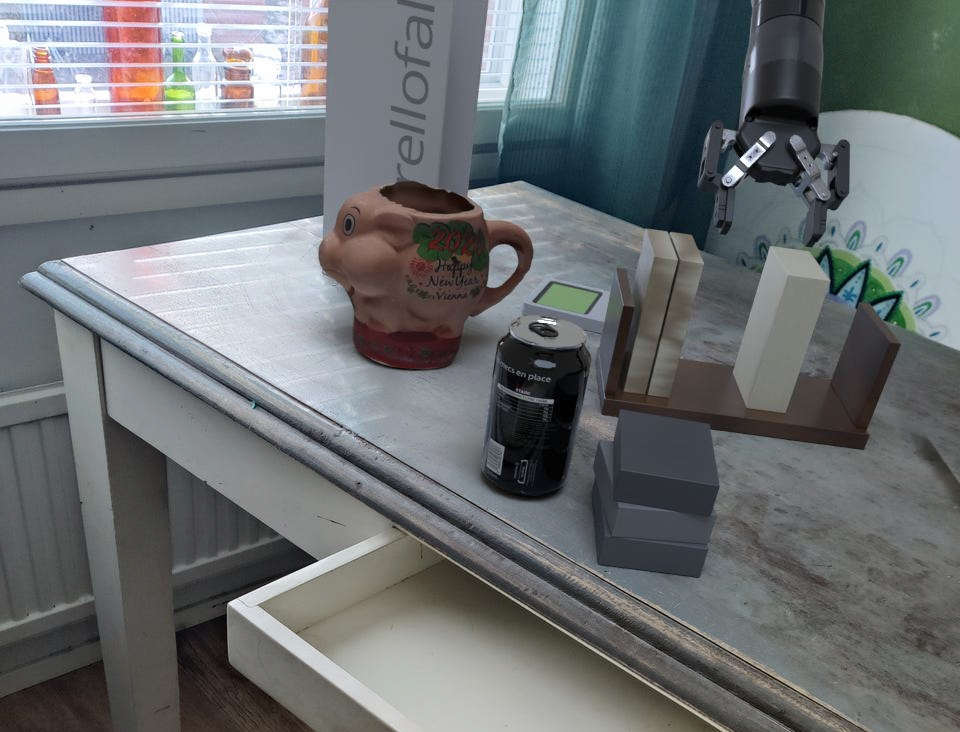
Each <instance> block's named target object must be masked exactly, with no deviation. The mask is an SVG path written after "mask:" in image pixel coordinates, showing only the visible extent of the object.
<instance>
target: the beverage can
mask: <svg viewBox="0 0 960 732" xmlns="http://www.w3.org/2000/svg"><path fill="white" fill-rule="evenodd" d="M587 338H588V335H587V332H586V330H584V329H582V328H580V327H579V326H577V325H576V324H573V323H571V322H569V321H566V320H563V319H559V318H555V317H549V316H540V315H529V316H526V315H521V316H518V317H515V318H513V319H511V320H510V321H509V323H508V332H507V333H506V334H504V335H503V336H502V337H501V338H500V339H499V340H498V342H497V345H496V350H495V355H494V363H493V369H492V377H491V384H490V391H489V398H488V404H487V405H488V406H487V413H486V419H485V420H486V421H485V427H484V435H483V442H482V450H481V457H480V468H481V471H482V473H483V474H484V476H485V477H486V478H487V479H488V480H489V481H490V482H492V484H494V485H495V486H496V487H498V488H499V489H501V490H502V491H504V492H507V493H509V494H512V495H514V496H515V495H516V496H520V497H538V496H543V495H545V494H548V493H551V492H554V491H556V490H558V489H559V488H561V487H562V486H563V485H565V483H566V482H567V480H568V476H569V472H570V469H571V468H570V467H571V463H572V459H573V455H574V449H575V445H576V441H577V440H576V439H577V435H578V430H579V425H580V420H581V414H582V410H583V405H584V400H585V395H586V390H587V386H588V381H589V376H590V371H591V365H592V355H591V353H590V351H589V349H588V348H587V347H586V346H587V345H586V343H587V340H588V339H587Z"/></svg>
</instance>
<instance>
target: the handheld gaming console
mask: <svg viewBox="0 0 960 732" xmlns="http://www.w3.org/2000/svg"><path fill="white" fill-rule="evenodd" d="M610 292H611V290H606V289H602V288H597V287H594V286H589V285H584V284H580V283H575V282H572V281H567V280H562V279H559V278H553V277H544V278H543V279H542V280H541V281H540V282H539V283H538V285H537V286H536V287H535V288H534V289H533V290H532V291H531V292H530V293H529V295H527V296H526V298H525V299H524V300H523V301H522V308H521V314H522V316H529V315H540V316H549V317H555V318H559V319H563V320H566V321H569V322H571V323H573V324H576V325H577V326H579V327H580V328H582V329H583V330H584V331H589V332H593V333H597V334H600V335H602V331H603V326H604V322H605V317H606V312H607V307H608V302H609V297H610Z"/></svg>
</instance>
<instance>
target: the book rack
mask: <svg viewBox="0 0 960 732" xmlns="http://www.w3.org/2000/svg"><path fill="white" fill-rule="evenodd" d="M639 252H640V253H639V257H638V261H637V266H636V271H635V277H634V280H633V285H632V289H631V284H630V280H629V276H628V272H627V269H626V268H620V267H615V269H614V274H613V277H612V284H611V287H610V291H611V292H610V297H609V302H608V307H607V312H606V317H605V322H604V326H603V331H602V334H601V336H600V342H599V345H598V347H597V349H596V355H595V359H594V364H595V372H596V380H597V388H598V395H599V405H600V412H601V415H605V416H612V417H619V413H620V410H627V411H633V412H639V413H645V414H651V415H657V416H664V417H670V418H676V419H682V420H688V421H694V422H700V423H706V424H710V430H716V431H717V430H718V431H724V432H731V433H739V434H747V435H754V436H760V437H767V438H777V439H784V440H792V441H798V442H805V443H813V444H814V443H815V444H821V445H827V446H828V445H829V446H835V447H843V448H849V449H850V448H851V449H858V450H865V447H866V445H867V443H868V440H869V438H870V436H871V434H870V432H869V431H868V428H869V425H870V423H871V421H872V418H873V416H874V413H875V411H876V409H877V405H878V403H879V401H880V398H881V396H882V394H883V392H884V388H885V385H886V383H887V381H888V378H889V376H890V374H891V371H892V369H893V366H894V364H895V361H896V358H897V357H898V353H899V352H900V348H901V346H902V343H901V342H900V340H899V339H898V338H897V337H896V335H895V334H894V332H893V331H892V330H891V329H890V327H889V326H888V325H887V324H886V322H885V321H884V320H883V318H882V317H881V316H880V315H879V313H878V312H877V311H876V309H875V308H874V307H873V306H872V305H871V303H869V302H862V301H859V303H858V305H857V308H856V311H855V314H854V317H853V320H852V321H851V324H850V328H849V330H848V333H847V335H846V339H845V341H844V344H843V347H842V349H841V352H840V355H839V358H838V360H837V363H836V365H835V368H834V370H833V371H834V372H833V374H832V377H831V378H824V377H818V376H810V375H803V374H799V375H798V378H797V381H796V384H795V387H794V390H793V393H792V395H791V398H790V401H789V404H788V407H787V410H786V413H779V412H772V411H765V410H757V409H750V408H747V407H746V405H745V402H744V400H743V397H742V395H741V392H740V390H739V387H738V385H737V382H736V380H735V377H734V375H733V370H734V366H735V365H731V364H724V363H716V362H708V361H700V360H694V359H687V358H681V355H682V350H683V347H684V342H685V340H686V335H687V331H688V327H689V323H690V319H691V316H692V312H693V307H694V305H695V300H696V296H697V292H698V290H699V289H698V288H699V285H700V282H701V276H702V273H703V270H704V266H705V262H704V260H703V257H702V255H701V253H700V251H699V248H698V246H697V244H696V241H695V239H694V237H693V234H688V233H680V232H674V231H670V232H668V231H667V230H658V229H652V228H645V229H644V234H643V238H642V243H641V247H640V251H639Z"/></svg>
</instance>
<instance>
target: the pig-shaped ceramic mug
mask: <svg viewBox="0 0 960 732" xmlns="http://www.w3.org/2000/svg"><path fill="white" fill-rule="evenodd" d="M503 245H506V246H509V247H511V248H512V249H513V250H514V252H515V253H516V257H517V266H516V269H514V270H515V271H513V273H512V274H511V275H510V276H509V277H508V278H507V279H506V280H505V281H504V282H503V283H502V284H501V285H499V286H496V287H492V286H491V287H490V286H488V282H489V274H490V262H491V261H490V253H491V251H492V250H493V249H495V247H497V246H503ZM317 253H318V254H317V255H318V256H317V258H318V262H319V266H320V267H321V270H322V269H323V270H324V271H325V272H326V273H327V274H328V275H329V277H330V278H331V279H332V280H334V281H335V282H336V283H337V284H339V285H340V286H341V288H343V289H344V291H345V292H346V294H347V296H348V298H349V301H350V303H351V307H352V309H353V322H352V323H353V325H352V342H353V344H354V347H355V348H356V349H357V350H358V351H359V352H360V353H361V354H363V355H364V356H365V357H367V358H369V359H371V360H372V361H374V362H376V363H379V364H382V365H385V366H388V367H393V368H401V369H412V370H413V369H414V370H428V369H429V370H430V369H439V368H442V367H444V366H445V367H446V366H447V365H449V364H451V363H452V362H453V361H454V359H455V358H456V357H457V354H458V352H459V350H460V345H461V341H462V338H463V337H462V336H463V331H464V326H465V324H466V322H467V320H468V318H469V317H470V318H475V317H477V316H479V315H480V314H482V313H484V312H486V311H487V310H489V309H491V308H492V307H494V306H496V305H498V304H499V303H501V302H502V301H503V300H504V299H505V298H507V297H508V296H509V295H511V293H513V291H514V290H515V289H516V288H517V286H519V284H520V283H522V281H524V278H525V276H526V274H528V272H530V270H531V267H532V264H533V263H532V262H533V259H534V254H535V253H534V246H533V241H532V239H531V237H530V235H529V234H528V233H527V231H526V230H525V229H523V228H522V227H521V226H519V225H517V224H516V223H513V222H510V221H507V220H500V219H499V220H496V219H495V220H494V219H492V220H490V219H486V218H485V214H484V210H483V208H482V206H481V205H480V204H478V203H476V202H475V201H474V200H473V199H472V198H470V197H469V196H464V195H460V194H457V193H454V192H452V191H450V190H446V189H442V188H437V187H432V186H428V185H425V184H420V183H418V182H416V181H402V182H396V183H390V184H385V185H379V186H375V187H373V188H371V189H370V190H368V191H365V192H361V193H358V194H355V195H353V196H351V197H349V198H348V199H347V200H346V201H345V202H344V204H343V205H342V207H341V209H340V210H339V212H338V215H337V219H336V224H335V227H334V228H333V230H332V231H331V232H330V233H329V234H328V235H327V236H326V237H325V238H324V239H323V238H322V240H321V241H320V243H319V246H318V251H317ZM328 275H327V276H328Z"/></svg>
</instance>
